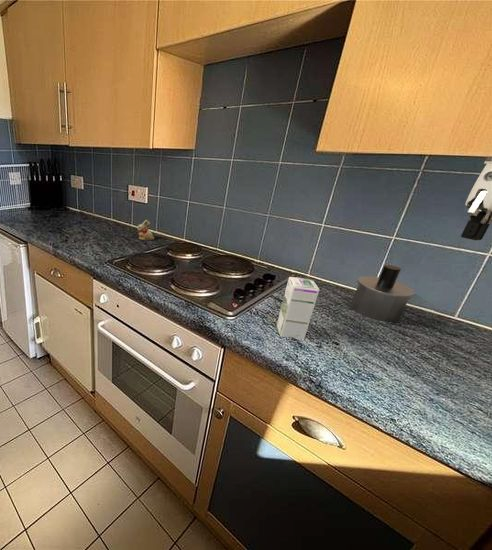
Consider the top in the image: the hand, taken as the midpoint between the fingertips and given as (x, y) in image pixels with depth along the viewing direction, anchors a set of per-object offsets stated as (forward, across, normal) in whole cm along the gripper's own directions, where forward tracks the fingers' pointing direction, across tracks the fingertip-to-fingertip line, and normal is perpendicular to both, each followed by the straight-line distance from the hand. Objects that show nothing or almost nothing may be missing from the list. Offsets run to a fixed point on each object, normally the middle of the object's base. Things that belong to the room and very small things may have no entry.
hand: (470, 238), depth 73 cm
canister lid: (+17, -8, +9) cm, 20 cm away
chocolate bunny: (+25, -47, +93) cm, 107 cm away
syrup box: (+25, -41, +7) cm, 49 cm away
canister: (+25, -8, +9) cm, 28 cm away
